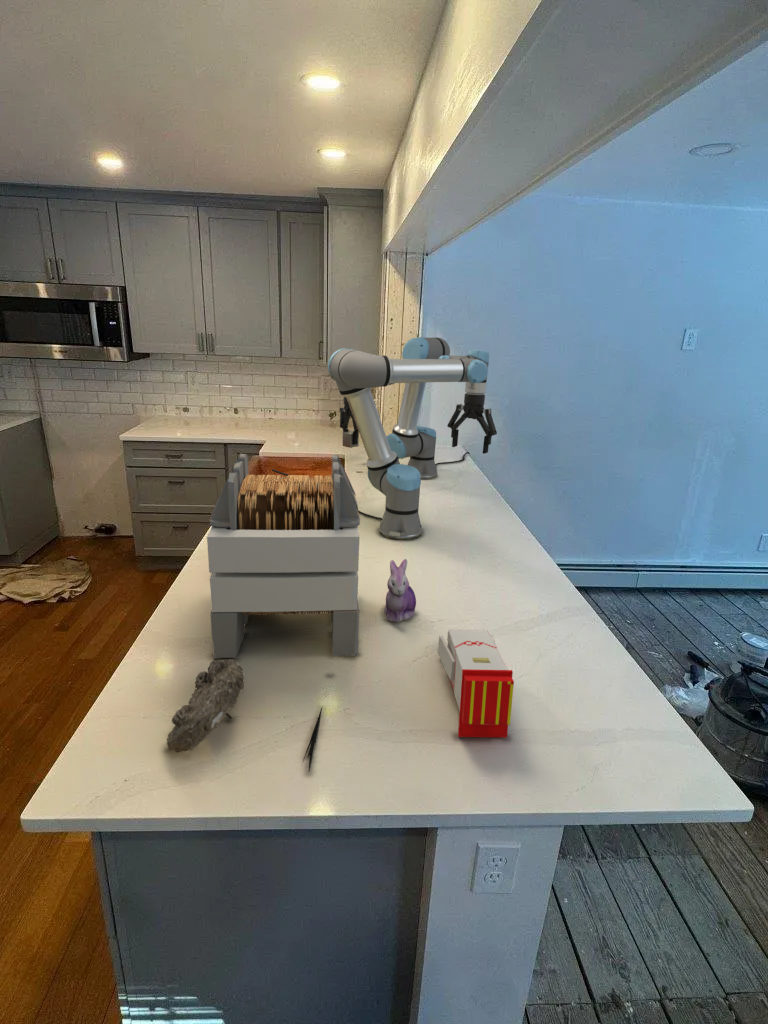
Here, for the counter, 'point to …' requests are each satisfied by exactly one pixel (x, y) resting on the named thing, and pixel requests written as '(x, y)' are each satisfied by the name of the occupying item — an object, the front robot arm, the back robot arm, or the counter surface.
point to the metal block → (349, 439)
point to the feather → (313, 740)
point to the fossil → (206, 705)
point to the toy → (478, 682)
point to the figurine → (399, 594)
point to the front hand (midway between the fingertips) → (469, 449)
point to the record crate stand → (284, 553)
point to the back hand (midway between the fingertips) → (350, 443)
